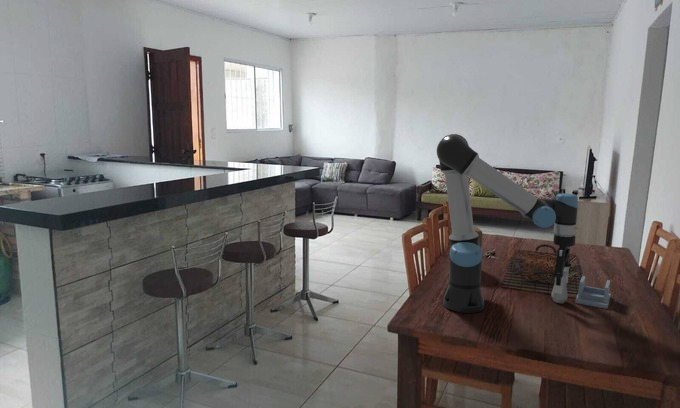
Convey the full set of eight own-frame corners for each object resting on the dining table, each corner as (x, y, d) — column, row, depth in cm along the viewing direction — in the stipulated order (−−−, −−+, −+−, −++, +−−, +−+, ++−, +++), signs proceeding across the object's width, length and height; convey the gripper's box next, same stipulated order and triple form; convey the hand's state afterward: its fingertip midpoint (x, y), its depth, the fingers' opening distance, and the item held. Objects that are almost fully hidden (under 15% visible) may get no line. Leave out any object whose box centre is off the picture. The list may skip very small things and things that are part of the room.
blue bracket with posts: (607, 308, 182) (609, 289, 181) (575, 302, 188) (576, 284, 186) (610, 297, 194) (612, 279, 192) (579, 291, 199) (581, 274, 198)
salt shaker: (568, 305, 186) (571, 272, 183) (552, 303, 187) (555, 271, 185) (564, 299, 191) (567, 267, 189) (549, 298, 193) (552, 266, 190)
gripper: (570, 243, 172) (566, 299, 176) (580, 228, 193) (576, 280, 196) (547, 240, 176) (544, 295, 180) (559, 226, 197) (556, 276, 200)
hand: (561, 287), depth 188 cm, fingers open, 13 cm apart
